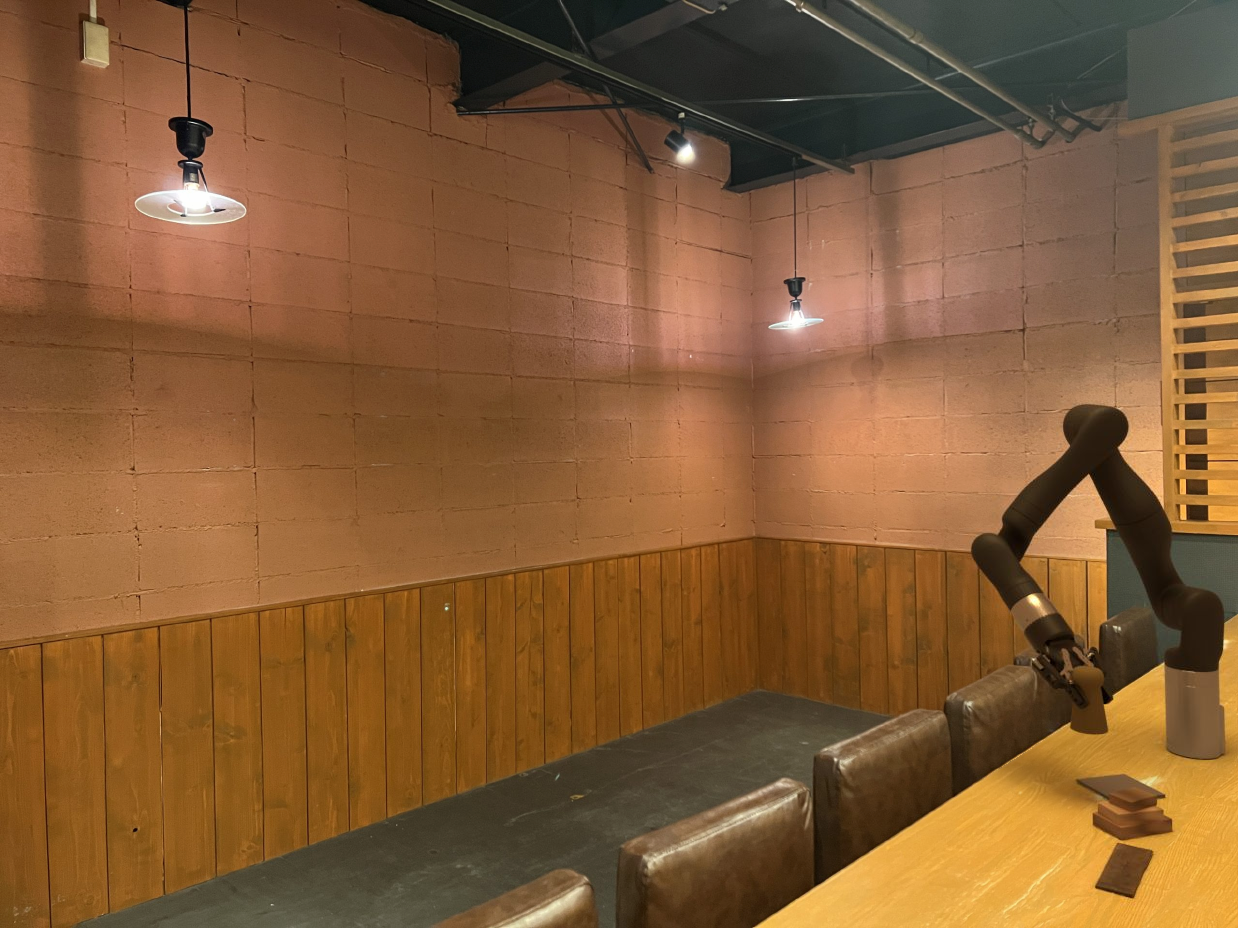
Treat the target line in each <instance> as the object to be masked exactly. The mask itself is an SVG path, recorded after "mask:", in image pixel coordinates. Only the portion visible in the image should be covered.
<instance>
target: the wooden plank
mask: <svg viewBox="0 0 1238 928" xmlns="http://www.w3.org/2000/svg"><path fill="white" fill-rule="evenodd" d="M1153 854H1154V850H1153V849H1150V848H1144V847H1139V846H1135V845H1130V844H1126V843H1121V842H1116V844H1115V847H1114V848H1113V850H1112V852H1111V853H1110V856H1109V858H1108V860H1107V861H1106V864H1105V865H1104V868H1103V870H1102V872H1101V874H1100V876H1099V878H1098V879H1097V881H1096V883H1095V885H1094V886H1095V887H1094V888H1095V889H1098V890H1101V891H1105V892H1108V893H1113V894H1115V895H1120V896H1124V897H1127V898H1134V897H1135V894H1136V892H1137V890H1138V887H1139V885H1140V882H1141V880H1142V877H1143V875H1144V873H1145V871H1146V868H1147V867H1148V865H1149V863H1150V860H1151V858H1152V856H1153Z"/></svg>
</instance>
